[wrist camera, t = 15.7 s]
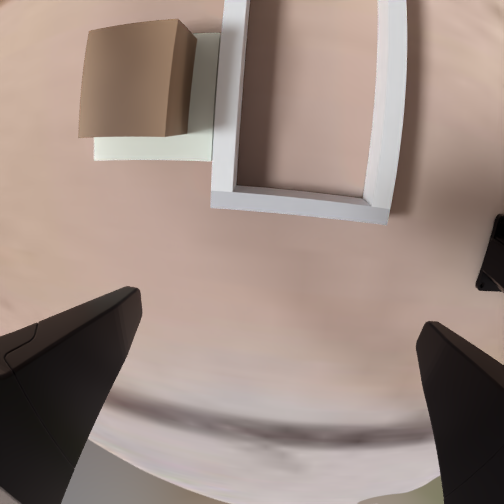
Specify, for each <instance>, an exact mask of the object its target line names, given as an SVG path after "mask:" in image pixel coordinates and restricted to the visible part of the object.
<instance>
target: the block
mask: <svg viewBox="0 0 504 504" xmlns="http://www.w3.org/2000/svg"><path fill="white" fill-rule="evenodd" d="M196 45H197V38H196V37H195V36H194V35H193V34H192V33H191V32H190V31H189V30H188V29H187V28H186V26H185V25H184V24H183V23H182V22H181V21H180V20H179V19H168V20H157V21H147V22H138V23H131V24H124V25H118V26H112V27H106V28H101V29H96V30H91V31H89V34H88V40H87V46H86V53H85V60H84V67H83V76H82V85H81V97H80V111H79V133H78V138H90V137H169V136H176V135H184V134H187V130H188V118H189V107H190V96H191V87H192V77H193V69H194V60H195V52H196Z"/></svg>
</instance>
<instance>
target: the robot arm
mask: <svg viewBox="0 0 504 504" xmlns="http://www.w3.org/2000/svg"><path fill="white" fill-rule="evenodd" d="M500 220H501V222H500ZM481 283H482V284H481ZM476 288H477V289H478V290H480V291H500V292H503V293H504V215H502V214H499V215H497V217H496V219H495V222H494V226H493V230H492V234H491V237H490V241H489V244H488V248H487V251H486V254H485V258H484V261H483V264H482V267H481V270H480V273H479V275H478V278H477V281H476ZM141 317H142V303H141V293H140V290H139V289H138V288H135V287H130V286H126V287H123V288H121V289H118V290H116V291H113V292H111V293H108V294H106V295H103V296H101V297H98V298H96V299H93V300H91V301H88V302H86V303H83V304H81V305H78V306H76V307H74V308H71V309H69V310H66V311H64V312H61V313H59V314H56V315H54V316H52V317H49V318H47V319H44V320H42V321H39V323H34V324H32V325H30V326H27V327H25V328H22V329H20V330H17V331H14V332H12V333H9V334H6V335H3V336H0V504H61V502H62V499H63V497H64V494H65V492H66V489H67V487H68V484H69V482H70V479H71V476H72V474H73V472H74V468H75V466H76V464H77V462H78V459H79V457H80V455H81V452H82V450H83V448H84V446H85V443H86V441H87V439H88V437H89V434H90V432H91V430H92V428H93V426H94V423H95V421H96V419H97V417H98V415H99V413H100V410H101V408H102V406H103V404H104V402H105V400H106V398H107V396H108V394H109V392H110V390H111V387H112V385H113V383H114V381H115V379H116V377H117V375H118V373H119V371H120V369H121V367H122V365H123V363H124V361H125V359H126V357H127V355H128V352H129V350H130V347H131V344H132V341H133V339H134V336H135V333H136V331H137V328H138V326H139V323H140V320H141ZM416 351H417V357H418V362H419V368H420V374H421V381H422V386H423V391H424V395H425V399H426V403H427V407H428V411H429V416H430V420H431V425H432V429H433V434H434V439H435V444H436V450H437V455H438V461H439V467H440V474H441V481H442V488H443V496H444V504H504V365H502V364H501V363H500V362H498V361H497V360H495V359H494V358H492V357H491V356H489V355H488V354H486V353H485V352H483V351H482V350H480V349H479V348H477V347H476V346H474V345H473V344H471V343H470V342H468V341H467V340H465V339H464V338H462V337H461V336H459V335H458V334H456V333H455V332H453V331H451V330H450V329H448V328H447V327H445V326H444V325H442V324H441V323H439V322H436V321H428V322H426V323H425V324H424V326H423V329H422V331H421V333H420V335H419V338H418V340H417V343H416Z"/></svg>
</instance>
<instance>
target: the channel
mask: <svg viewBox="0 0 504 504" xmlns="http://www.w3.org/2000/svg"><path fill="white" fill-rule="evenodd" d="M249 8H250V0H225V3H224V12H223V22H222V32H221V43H220V54H219V65H218V78H217V91H216V106H215V121H214V138H213V158H212V181H211V208H220V209H233V210H246V211H258V212H269V213H280V214H291V215H301V216H311V217H321V218H330V219H339V220H348V221H356V222H365V223H373V224H381V225H387V223H388V218H389V213H390V208H391V202H392V197H393V191H394V185H395V179H396V173H397V166H398V159H399V152H400V144H401V136H402V127H403V116H404V105H405V91H406V73H407V7H406V0H378V45H377V70H376V87H375V101H374V112H373V123H372V132H371V141H370V150H369V158H368V165H367V172H366V179H365V186H364V192H363V198H356V197H348V196H340V195H332V194H324V193H315V192H306V191H296V190H286V189H276V188H265V187H253V186H240V185H236V183H237V166H238V150H239V135H240V121H241V107H242V93H243V80H244V67H245V55H246V43H247V31H248V19H249Z"/></svg>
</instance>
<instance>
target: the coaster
mask: <svg viewBox="0 0 504 504" xmlns="http://www.w3.org/2000/svg"><path fill="white" fill-rule="evenodd" d="M193 35H194V36H195V37H196V38H197V45H196V52H195V60H194V69H193V77H192V87H191V96H190V107H189V118H188V130H187V134H184V135H176V136H169V137H94V161H100V160H186V161H212V158H213V138H214V121H215V106H216V91H217V78H218V65H219V54H220V43H221V34H220V33H193Z"/></svg>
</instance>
